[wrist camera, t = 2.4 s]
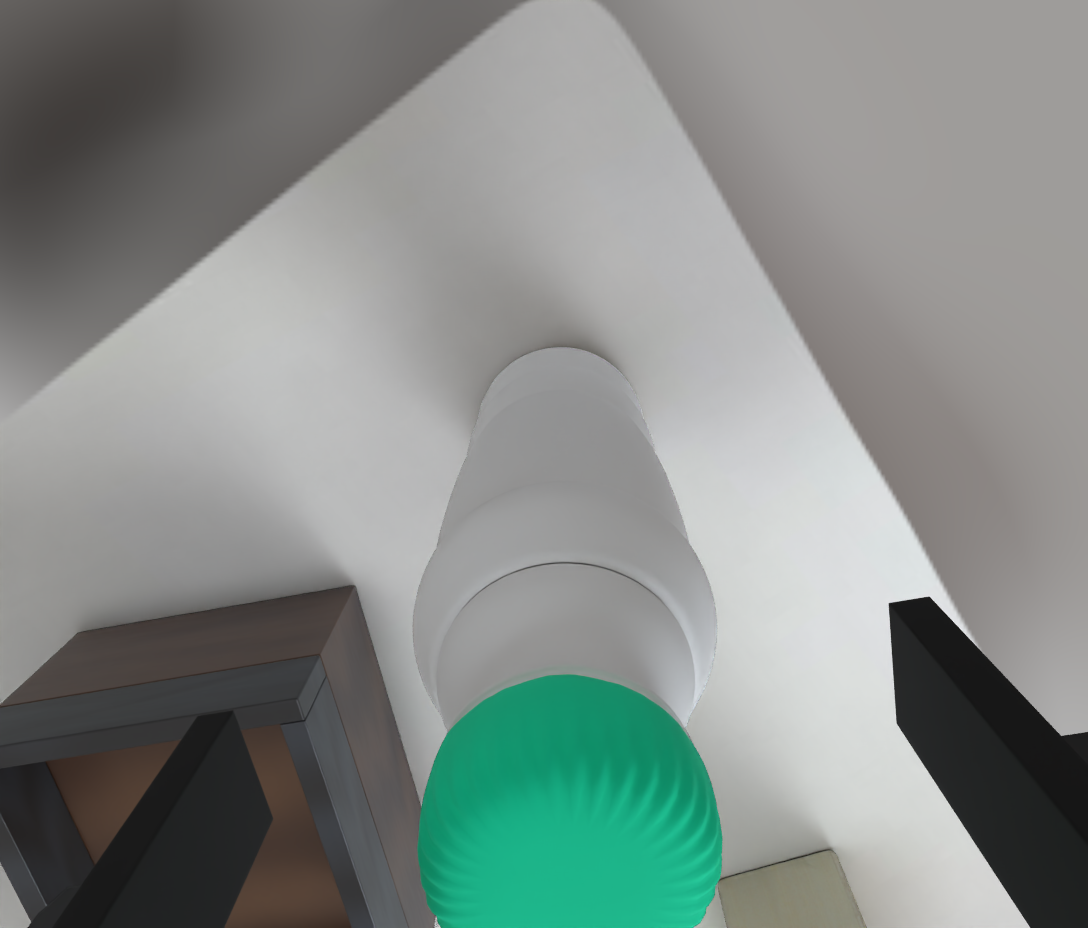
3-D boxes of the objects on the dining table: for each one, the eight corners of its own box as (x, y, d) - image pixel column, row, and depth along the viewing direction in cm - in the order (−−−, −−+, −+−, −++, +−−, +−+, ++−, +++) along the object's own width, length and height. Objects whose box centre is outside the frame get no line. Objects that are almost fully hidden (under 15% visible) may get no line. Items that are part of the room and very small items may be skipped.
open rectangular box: (77, 632, 39) (-56, 755, 31) (355, 584, 38) (297, 698, 30) (197, 912, 45) (113, 1082, 36) (442, 877, 44) (415, 1043, 35)
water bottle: (584, 525, 37) (635, 1124, 13) (451, 447, 36) (246, 949, 12) (672, 398, 35) (918, 836, 11) (534, 311, 34) (483, 595, 10)
